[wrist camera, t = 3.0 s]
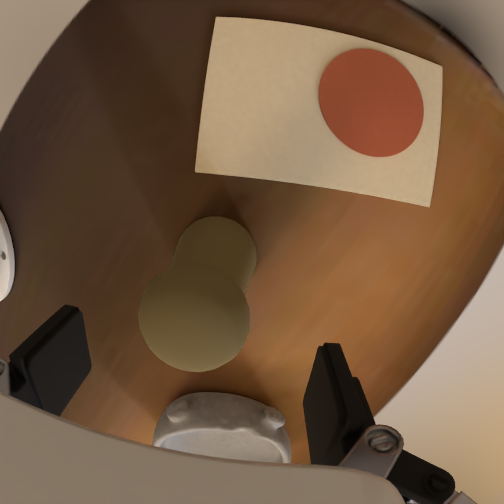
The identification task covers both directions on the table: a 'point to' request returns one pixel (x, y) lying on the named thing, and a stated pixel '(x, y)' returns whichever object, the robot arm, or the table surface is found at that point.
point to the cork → (201, 297)
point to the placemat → (319, 110)
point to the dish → (224, 428)
